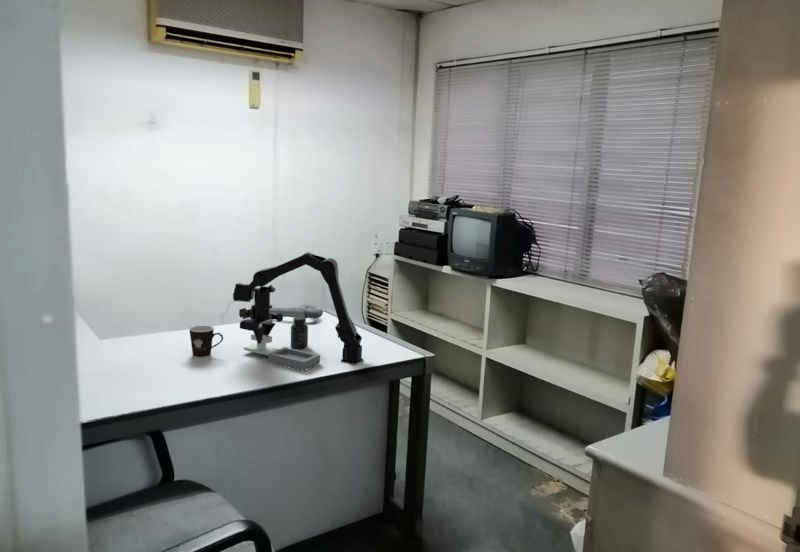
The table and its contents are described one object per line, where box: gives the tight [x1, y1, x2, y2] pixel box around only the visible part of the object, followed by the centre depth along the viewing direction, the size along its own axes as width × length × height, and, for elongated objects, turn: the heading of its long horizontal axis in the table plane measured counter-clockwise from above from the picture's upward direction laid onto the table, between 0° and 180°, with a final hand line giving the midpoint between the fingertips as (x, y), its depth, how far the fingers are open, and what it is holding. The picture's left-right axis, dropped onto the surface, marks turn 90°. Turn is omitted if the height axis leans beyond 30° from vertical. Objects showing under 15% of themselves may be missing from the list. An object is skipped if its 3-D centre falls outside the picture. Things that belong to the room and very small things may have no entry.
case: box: [267, 346, 321, 372], centre depth 222 cm, size 16×10×4 cm, turn 64°
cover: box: [243, 333, 280, 356], centre depth 229 cm, size 12×6×6 cm, turn 64°
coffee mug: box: [188, 325, 224, 358], centre depth 225 cm, size 12×9×10 cm
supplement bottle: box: [290, 316, 309, 350], centre depth 241 cm, size 7×7×12 cm
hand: (261, 342), depth 229 cm, fingers closed on cover, 2 cm apart
